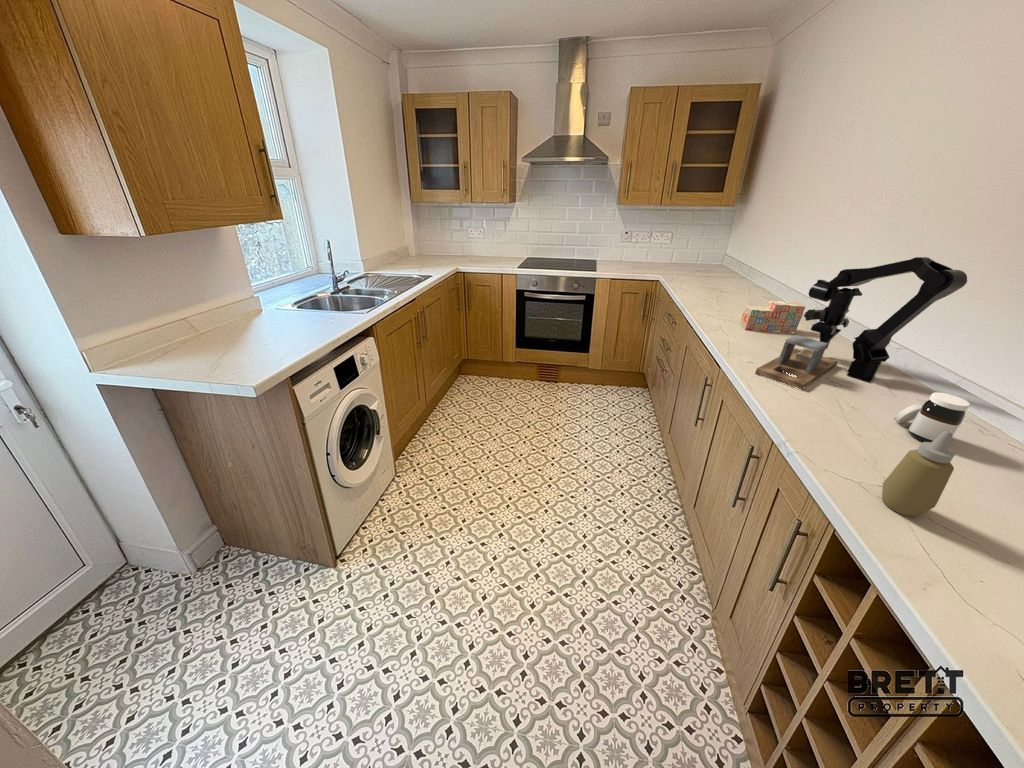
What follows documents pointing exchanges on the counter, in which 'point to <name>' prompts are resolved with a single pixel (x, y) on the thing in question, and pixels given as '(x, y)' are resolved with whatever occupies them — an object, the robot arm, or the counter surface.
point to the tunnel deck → (798, 363)
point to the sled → (806, 356)
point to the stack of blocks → (773, 317)
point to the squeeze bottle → (920, 477)
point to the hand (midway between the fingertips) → (821, 347)
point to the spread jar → (934, 416)
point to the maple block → (807, 352)
